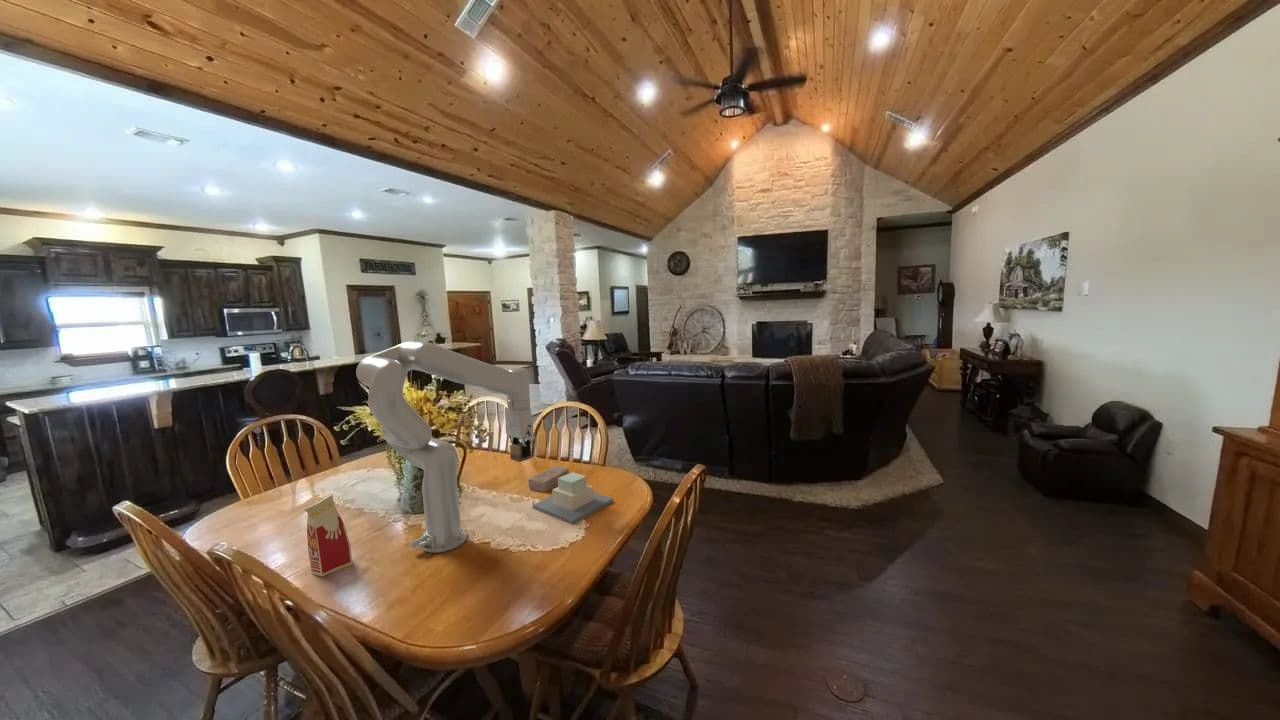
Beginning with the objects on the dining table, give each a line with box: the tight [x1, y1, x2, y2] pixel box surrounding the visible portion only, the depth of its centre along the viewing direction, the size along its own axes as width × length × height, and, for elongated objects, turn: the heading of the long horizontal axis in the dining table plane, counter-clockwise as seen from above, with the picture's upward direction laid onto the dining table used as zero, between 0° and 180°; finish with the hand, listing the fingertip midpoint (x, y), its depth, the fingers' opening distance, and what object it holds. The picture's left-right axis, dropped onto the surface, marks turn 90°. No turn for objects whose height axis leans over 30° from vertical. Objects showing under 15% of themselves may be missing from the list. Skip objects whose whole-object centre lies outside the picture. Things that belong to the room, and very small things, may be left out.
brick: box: [527, 465, 570, 493], centre depth 178 cm, size 17×8×5 cm, turn 153°
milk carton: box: [302, 493, 353, 577], centre depth 124 cm, size 9×9×20 cm
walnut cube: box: [509, 441, 532, 463], centre depth 156 cm, size 5×5×5 cm
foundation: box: [531, 484, 614, 525], centre depth 158 cm, size 20×20×6 cm
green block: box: [557, 471, 588, 494], centre depth 157 cm, size 7×7×4 cm
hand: (521, 454), depth 156 cm, fingers closed on walnut cube, 4 cm apart
